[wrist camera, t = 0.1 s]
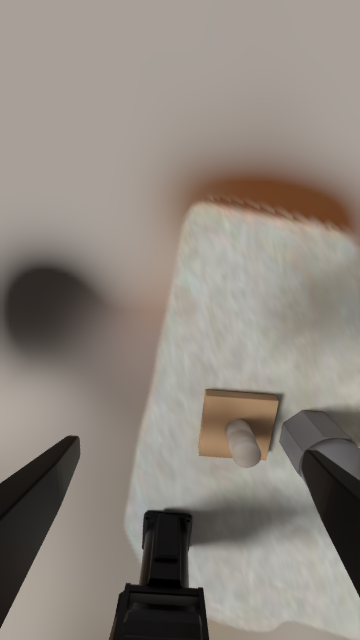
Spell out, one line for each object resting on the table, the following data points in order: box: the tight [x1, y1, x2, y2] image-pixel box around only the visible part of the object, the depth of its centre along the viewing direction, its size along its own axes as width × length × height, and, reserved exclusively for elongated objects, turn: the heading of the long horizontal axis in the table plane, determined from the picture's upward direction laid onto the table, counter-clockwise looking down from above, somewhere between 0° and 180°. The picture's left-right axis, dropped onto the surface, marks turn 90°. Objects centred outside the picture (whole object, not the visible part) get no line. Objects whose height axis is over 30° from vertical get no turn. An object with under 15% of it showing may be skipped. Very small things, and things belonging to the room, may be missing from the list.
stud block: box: [198, 390, 279, 468], centre depth 22 cm, size 8×8×5 cm
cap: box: [279, 411, 360, 487], centre depth 23 cm, size 6×6×5 cm
